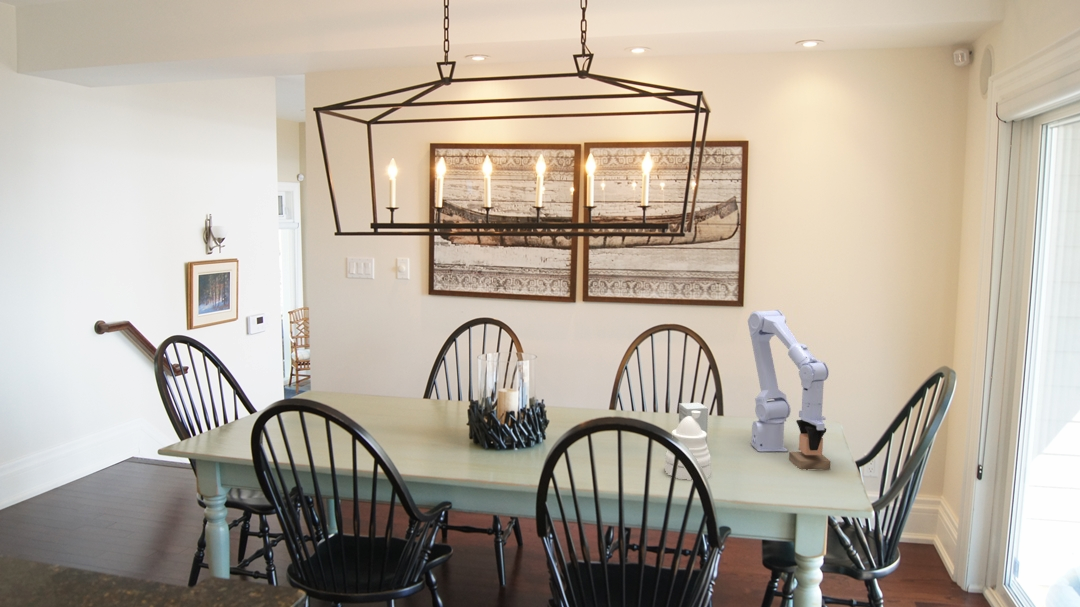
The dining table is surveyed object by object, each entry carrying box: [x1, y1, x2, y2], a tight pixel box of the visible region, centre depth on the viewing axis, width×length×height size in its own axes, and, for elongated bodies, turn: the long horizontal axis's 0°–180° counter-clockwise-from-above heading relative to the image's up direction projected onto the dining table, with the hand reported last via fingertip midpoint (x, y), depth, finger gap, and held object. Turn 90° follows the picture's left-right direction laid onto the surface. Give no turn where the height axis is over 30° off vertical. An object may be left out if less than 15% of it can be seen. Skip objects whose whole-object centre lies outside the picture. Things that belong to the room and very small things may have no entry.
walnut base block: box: [788, 451, 832, 471], centre depth 228 cm, size 9×9×3 cm
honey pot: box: [664, 411, 712, 481], centre depth 220 cm, size 13×13×18 cm
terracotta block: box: [798, 433, 824, 455], centre depth 227 cm, size 5×5×5 cm
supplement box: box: [678, 402, 709, 444], centre depth 248 cm, size 7×7×13 cm
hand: (810, 447), depth 227 cm, fingers closed on terracotta block, 5 cm apart
